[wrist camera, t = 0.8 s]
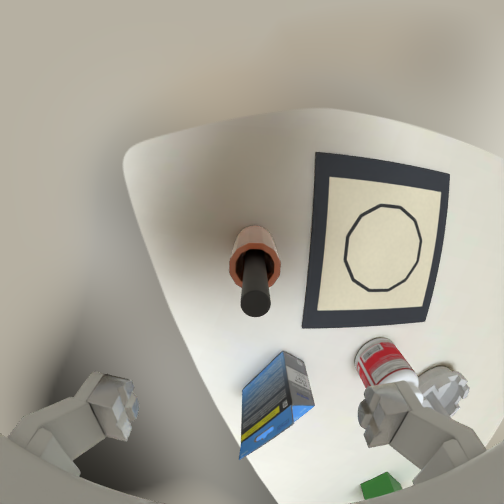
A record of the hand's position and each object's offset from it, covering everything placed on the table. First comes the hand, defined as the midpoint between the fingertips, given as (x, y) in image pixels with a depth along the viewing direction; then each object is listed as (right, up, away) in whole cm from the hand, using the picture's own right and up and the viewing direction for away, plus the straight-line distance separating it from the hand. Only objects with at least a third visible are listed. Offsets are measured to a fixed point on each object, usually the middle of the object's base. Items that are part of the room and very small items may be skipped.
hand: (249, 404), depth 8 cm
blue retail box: (+3, -12, +26) cm, 29 cm away
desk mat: (+15, +5, +21) cm, 27 cm away
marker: (0, +6, +21) cm, 22 cm away
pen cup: (0, +6, +21) cm, 22 cm away
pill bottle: (+17, -9, +25) cm, 32 cm away
